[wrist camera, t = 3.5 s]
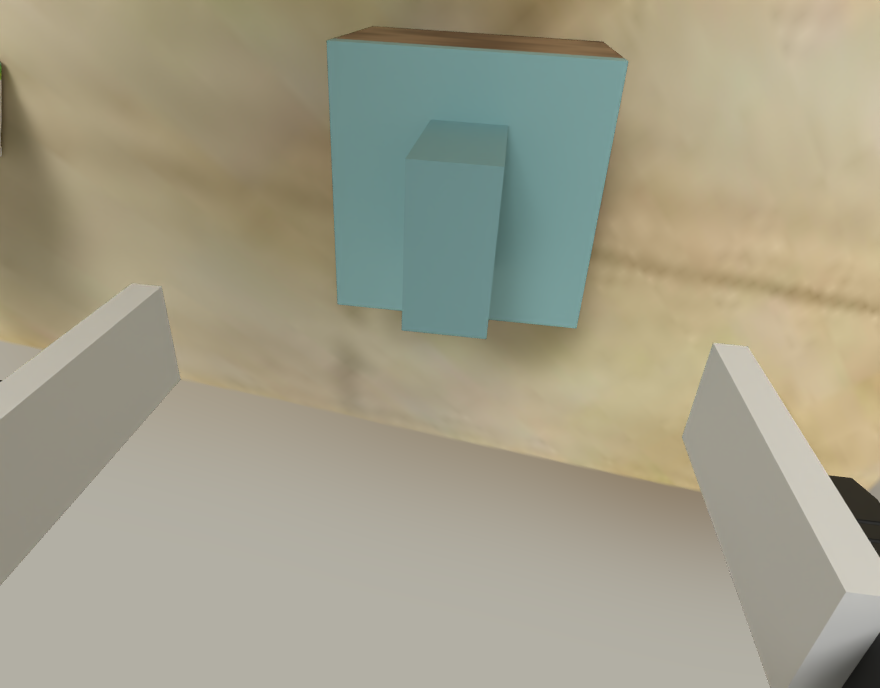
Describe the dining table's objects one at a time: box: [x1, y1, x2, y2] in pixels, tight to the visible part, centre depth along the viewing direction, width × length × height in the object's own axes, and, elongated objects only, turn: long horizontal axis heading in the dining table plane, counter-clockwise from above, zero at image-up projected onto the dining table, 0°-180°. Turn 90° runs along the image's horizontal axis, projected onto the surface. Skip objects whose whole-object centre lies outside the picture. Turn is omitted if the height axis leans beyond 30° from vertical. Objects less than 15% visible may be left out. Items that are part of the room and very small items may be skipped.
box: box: [336, 26, 623, 58], centre depth 29 cm, size 11×11×7 cm
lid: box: [327, 38, 628, 339], centre depth 23 cm, size 11×11×9 cm
